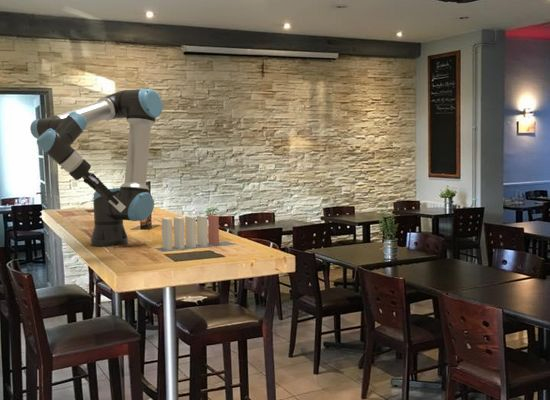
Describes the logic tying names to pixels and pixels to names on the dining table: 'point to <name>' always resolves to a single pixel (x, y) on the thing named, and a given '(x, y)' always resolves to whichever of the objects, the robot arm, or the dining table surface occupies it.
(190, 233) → the domino
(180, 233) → the domino
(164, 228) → the domino
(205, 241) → the domino
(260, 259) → the dining table surface
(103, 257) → the dining table surface
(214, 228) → the domino
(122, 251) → the dining table surface
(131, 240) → the dining table surface
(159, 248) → the runner mat
